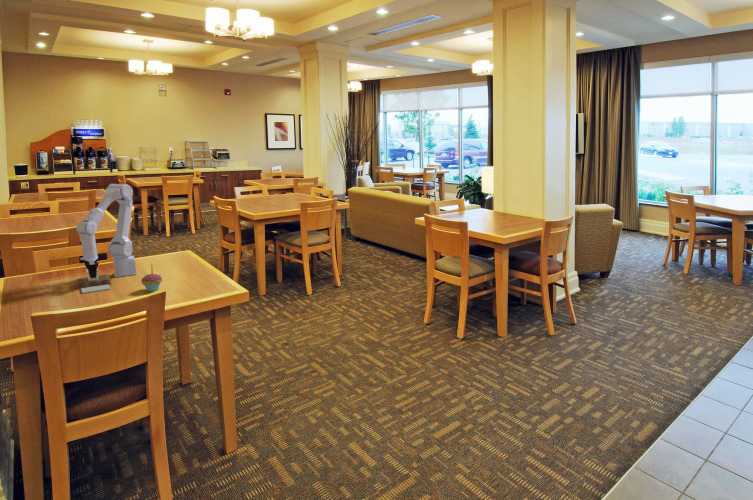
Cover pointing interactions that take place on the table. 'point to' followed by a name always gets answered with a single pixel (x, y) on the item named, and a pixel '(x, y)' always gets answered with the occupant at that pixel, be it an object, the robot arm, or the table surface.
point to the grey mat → (95, 289)
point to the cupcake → (152, 281)
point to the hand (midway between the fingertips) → (93, 276)
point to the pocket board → (93, 282)
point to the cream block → (92, 278)
